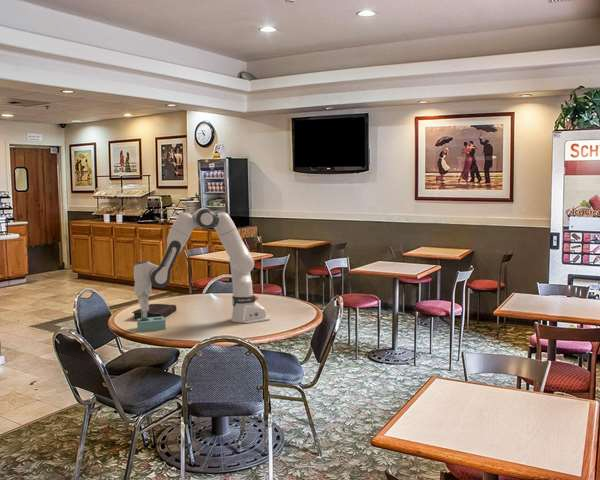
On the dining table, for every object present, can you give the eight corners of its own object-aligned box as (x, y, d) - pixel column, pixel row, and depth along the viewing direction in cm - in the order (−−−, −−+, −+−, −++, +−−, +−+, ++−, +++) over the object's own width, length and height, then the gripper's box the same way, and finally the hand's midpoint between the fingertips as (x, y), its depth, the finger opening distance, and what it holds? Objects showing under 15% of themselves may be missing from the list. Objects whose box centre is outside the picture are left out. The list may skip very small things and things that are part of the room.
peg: (147, 325, 313) (146, 303, 312) (147, 326, 310) (146, 304, 309) (141, 326, 312) (140, 304, 311) (142, 327, 309) (141, 305, 308)
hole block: (163, 325, 319) (163, 316, 319) (165, 329, 310) (165, 320, 309) (137, 327, 315) (137, 318, 314) (138, 331, 305) (138, 322, 305)
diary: (177, 312, 355) (176, 304, 354) (161, 321, 330) (160, 313, 330) (148, 311, 358) (148, 303, 357) (130, 320, 333) (130, 312, 333)
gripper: (151, 293, 300) (152, 319, 302) (147, 287, 320) (148, 311, 321) (138, 294, 298) (139, 321, 300) (135, 288, 317) (136, 313, 319)
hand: (144, 316), depth 310 cm, fingers closed on peg, 3 cm apart
